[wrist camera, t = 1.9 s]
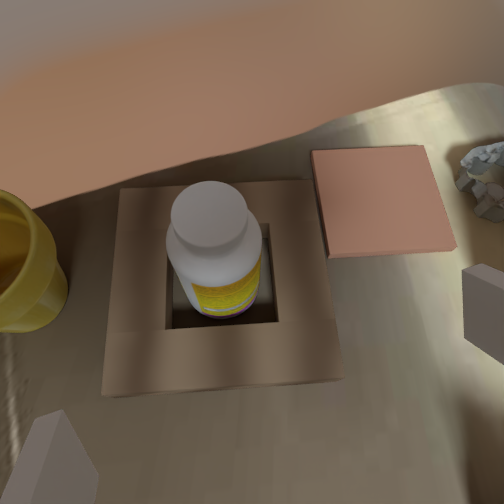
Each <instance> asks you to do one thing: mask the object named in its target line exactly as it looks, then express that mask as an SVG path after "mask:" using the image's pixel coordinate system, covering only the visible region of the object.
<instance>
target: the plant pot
mask: <svg viewBox="0 0 504 504" xmlns="http://www.w3.org/2000/svg"><path fill="white" fill-rule="evenodd" d="M56 258H57V254H56V245H55V242H54V239H53V236H52V234H51V232H50V231H49V229H48V228H47V226H46V225H45V224H44V223H43V221H42V220H41V219H40V218H39V217H38V216H37V215H36V214H35V213H34V212H33V211H32V210H31V209H30V208H29V207H28V206H27V205H26V204H25V203H24V202H23V201H22V200H21V199H19V198H18V197H16V196H15V195H13V194H11V193H9V192H6V191H3V190H0V332H11V333H25V332H31V331H34V330H37V329H39V328H42V327H44V326H45V325H47V324H48V323H50V322H51V321H52V320H53V319H55V318H56V316H57V315H58V314H59V313H60V311H61V310H62V308H63V307H64V304H65V302H66V299H67V295H68V283H67V279H66V277H65V274H64V272H63V271H62V269H61V267H60V265H59V263H58V261H57V259H56Z"/></svg>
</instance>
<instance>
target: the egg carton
mask: <svg viewBox="0 0 504 504" xmlns="http://www.w3.org/2000/svg"><path fill="white" fill-rule="evenodd" d="M460 163H461V165H462V166H463V167H462V168H461V169H460V170H459V171H458V174H459V179H458V180H457V181H456V183H455V185H456V186H457V188H458V190H459V191H467V192H470V193H471V194H473V195H474V196H475V197H476V199H477V206H476V207H475V208H474V209H473V211H474V212H475V214H476V216H477V217H482V218H488V219H490V220H491V221H492V222H494V223H498V222H501V221H503V220H504V201H500V200H501V199H503V198H504V189H503V188H502V186H500V185H499V184H497V183H494V182H491V183H486V184H484V183H482V182H481V181H479V180H477V179H473V178H470V177H468V175H467V171H468V172H469V173H471V174H473V175H482V174H484V173H485V172H486V171H487V170H488V169H489V168H490V167H491V166H492V165H493V164H494V163H496V164H497V165H499V166H502V167H504V141H503V142H497V143H494V144H492V145H486V146H478V147H475V148H473V149H472V150H471V151H470V152H469V153H468V154H467V155H466V156H465V157H464V158H463V159H462V160H461V161H460Z"/></svg>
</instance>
